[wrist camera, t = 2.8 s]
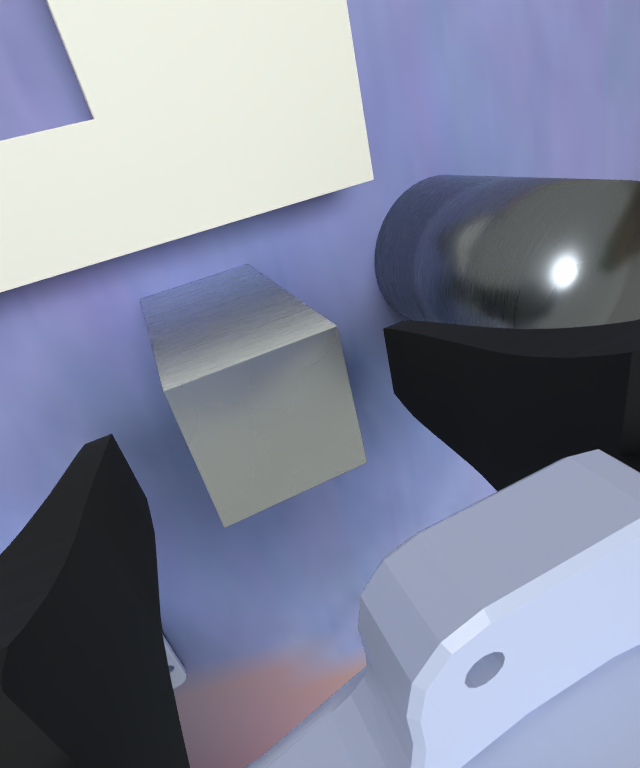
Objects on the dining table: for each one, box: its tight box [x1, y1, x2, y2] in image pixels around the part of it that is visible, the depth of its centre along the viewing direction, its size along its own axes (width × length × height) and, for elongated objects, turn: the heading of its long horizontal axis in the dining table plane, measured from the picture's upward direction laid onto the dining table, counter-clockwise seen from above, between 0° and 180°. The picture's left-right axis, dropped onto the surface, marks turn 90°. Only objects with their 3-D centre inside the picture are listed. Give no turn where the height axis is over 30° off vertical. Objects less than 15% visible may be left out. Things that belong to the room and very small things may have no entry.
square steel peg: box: [140, 264, 367, 528], centre depth 15 cm, size 4×4×8 cm
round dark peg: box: [375, 175, 640, 329], centre depth 17 cm, size 6×6×8 cm
